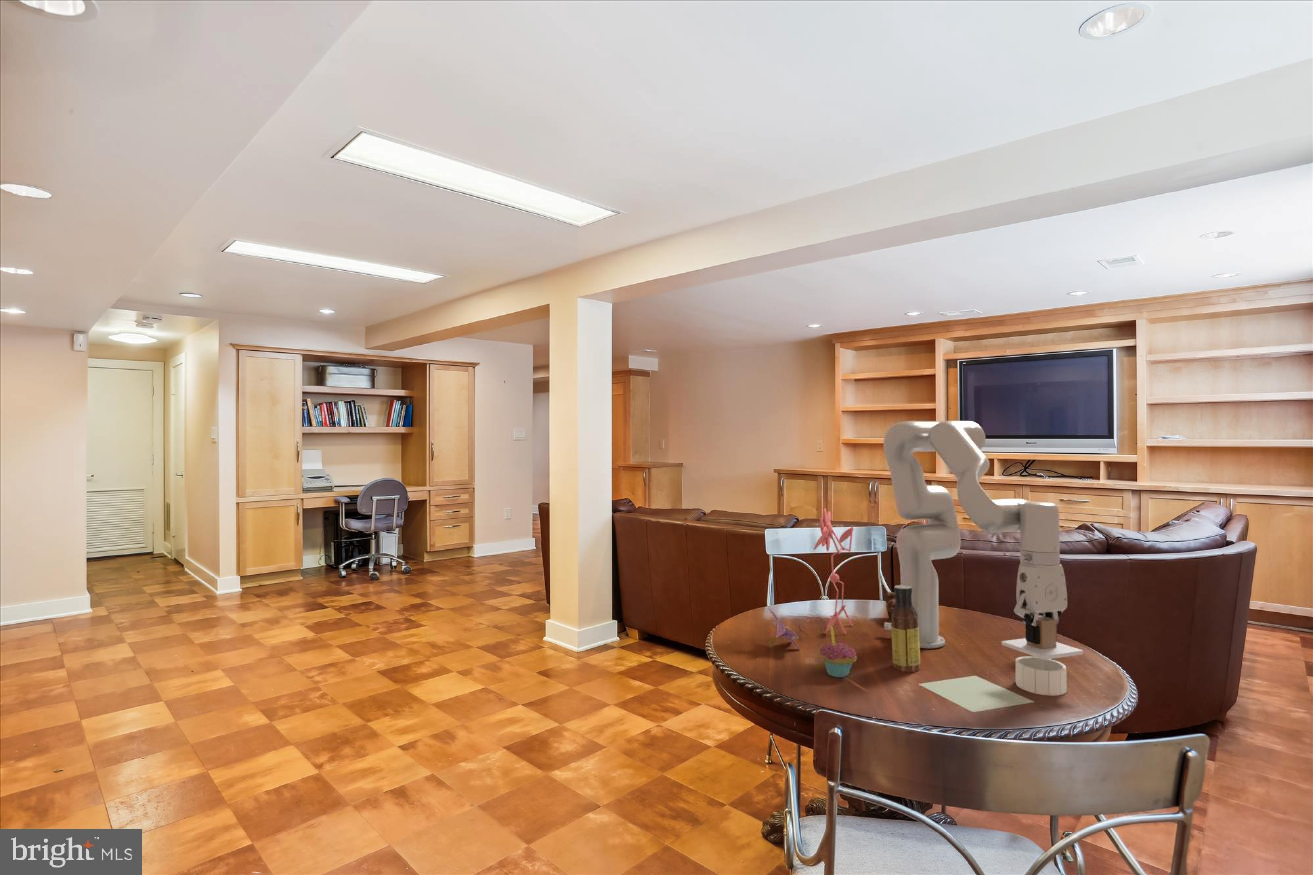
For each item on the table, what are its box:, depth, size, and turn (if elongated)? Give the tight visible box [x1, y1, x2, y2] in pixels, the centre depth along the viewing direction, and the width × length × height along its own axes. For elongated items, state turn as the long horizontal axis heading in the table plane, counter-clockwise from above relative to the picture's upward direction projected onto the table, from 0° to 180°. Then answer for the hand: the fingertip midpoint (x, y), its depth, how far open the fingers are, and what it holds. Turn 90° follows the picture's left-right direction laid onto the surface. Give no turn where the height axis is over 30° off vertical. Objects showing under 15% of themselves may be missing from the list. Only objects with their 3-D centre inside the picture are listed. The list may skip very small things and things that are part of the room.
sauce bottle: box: [890, 584, 921, 673], centre depth 158 cm, size 6×6×20 cm
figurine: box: [807, 507, 858, 635], centre depth 194 cm, size 15×26×35 cm, turn 152°
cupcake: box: [819, 624, 858, 678], centre depth 155 cm, size 9×8×12 cm
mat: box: [918, 675, 1035, 713], centre depth 142 cm, size 16×16×1 cm
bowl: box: [1015, 655, 1068, 697], centre depth 145 cm, size 10×10×6 cm
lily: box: [768, 607, 800, 650], centre depth 175 cm, size 12×12×10 cm
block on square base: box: [1001, 616, 1084, 660], centre depth 145 cm, size 11×11×7 cm
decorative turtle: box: [884, 591, 895, 621], centre depth 199 cm, size 10×15×8 cm, turn 27°
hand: (1041, 640), depth 145 cm, fingers closed on block on square base, 4 cm apart
